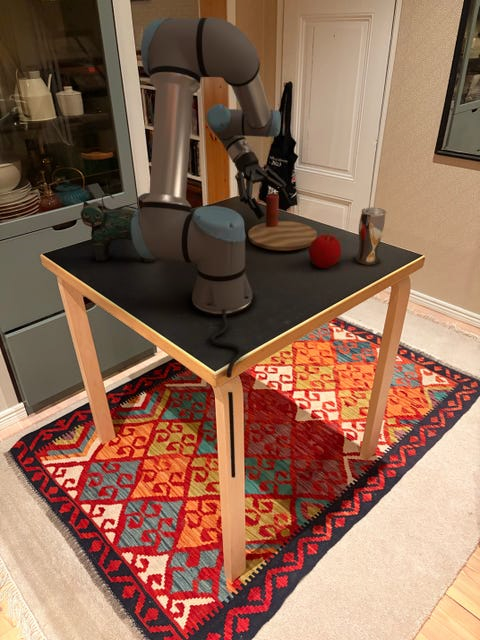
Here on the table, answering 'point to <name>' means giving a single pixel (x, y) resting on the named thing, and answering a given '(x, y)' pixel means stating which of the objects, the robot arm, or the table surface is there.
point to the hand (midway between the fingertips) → (276, 212)
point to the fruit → (325, 251)
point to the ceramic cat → (107, 226)
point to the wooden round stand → (280, 230)
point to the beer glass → (370, 234)
